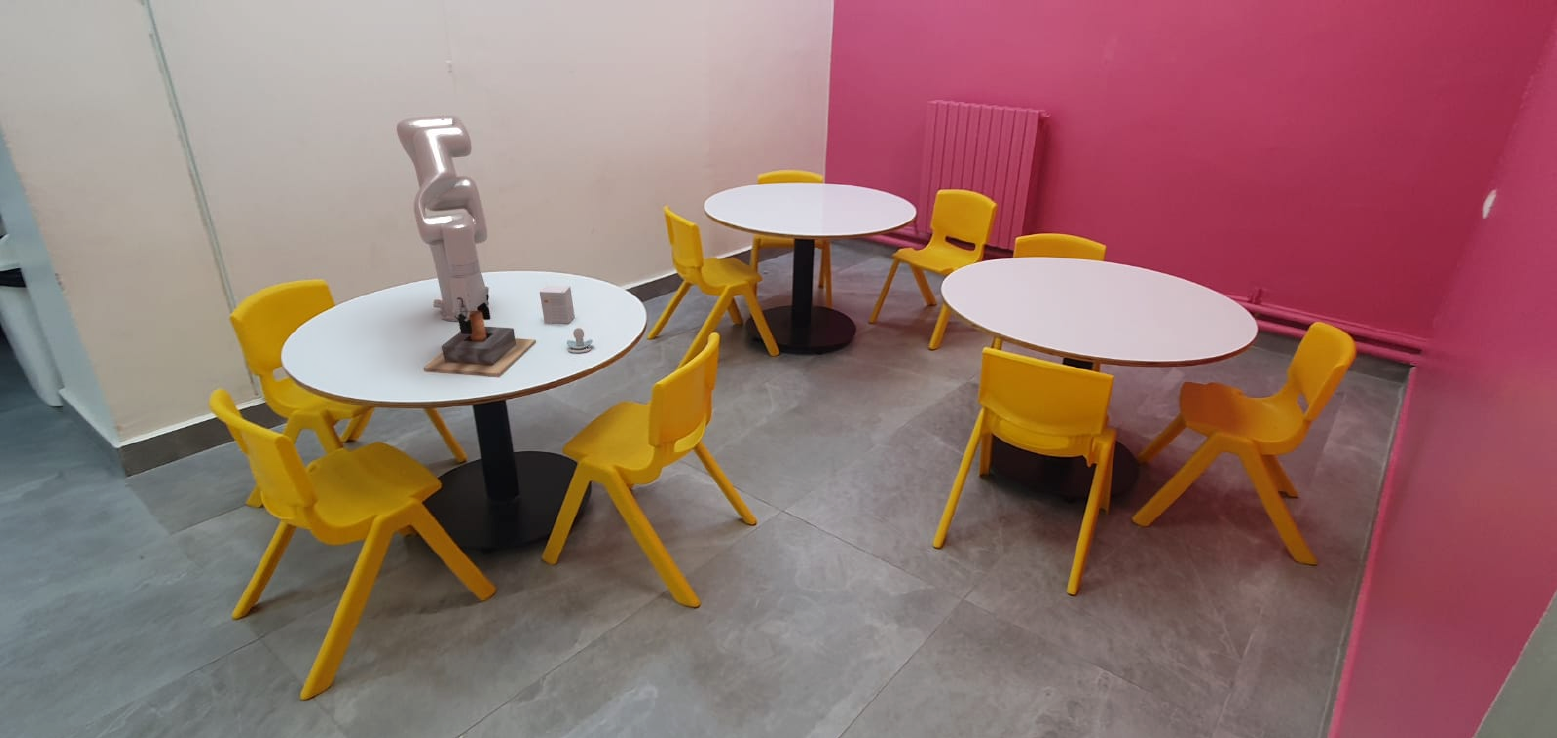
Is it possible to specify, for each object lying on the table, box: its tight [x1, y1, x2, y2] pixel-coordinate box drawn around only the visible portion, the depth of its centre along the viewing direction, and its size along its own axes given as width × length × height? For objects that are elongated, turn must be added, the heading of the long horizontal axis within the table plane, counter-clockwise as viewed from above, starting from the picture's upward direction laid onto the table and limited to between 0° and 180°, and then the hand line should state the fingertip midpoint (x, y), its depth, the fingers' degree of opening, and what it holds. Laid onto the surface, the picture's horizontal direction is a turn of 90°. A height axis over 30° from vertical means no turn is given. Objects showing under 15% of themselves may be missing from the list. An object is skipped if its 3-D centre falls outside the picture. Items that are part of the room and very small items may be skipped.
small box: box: [539, 285, 576, 325], centre depth 230 cm, size 8×6×10 cm
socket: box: [423, 326, 537, 378], centre depth 208 cm, size 22×22×6 cm
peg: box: [469, 311, 487, 342], centre depth 206 cm, size 4×4×12 cm
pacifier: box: [566, 327, 594, 354], centre depth 212 cm, size 7×6×6 cm
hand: (476, 326), depth 205 cm, fingers open, 9 cm apart
